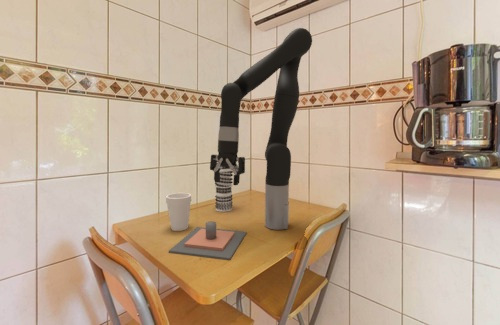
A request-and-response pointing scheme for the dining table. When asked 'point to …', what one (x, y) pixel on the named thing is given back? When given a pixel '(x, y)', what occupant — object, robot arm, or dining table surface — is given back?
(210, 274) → the dining table surface
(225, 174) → the decorative candle
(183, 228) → the foam cup
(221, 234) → the lid
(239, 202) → the dining table surface
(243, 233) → the mat
